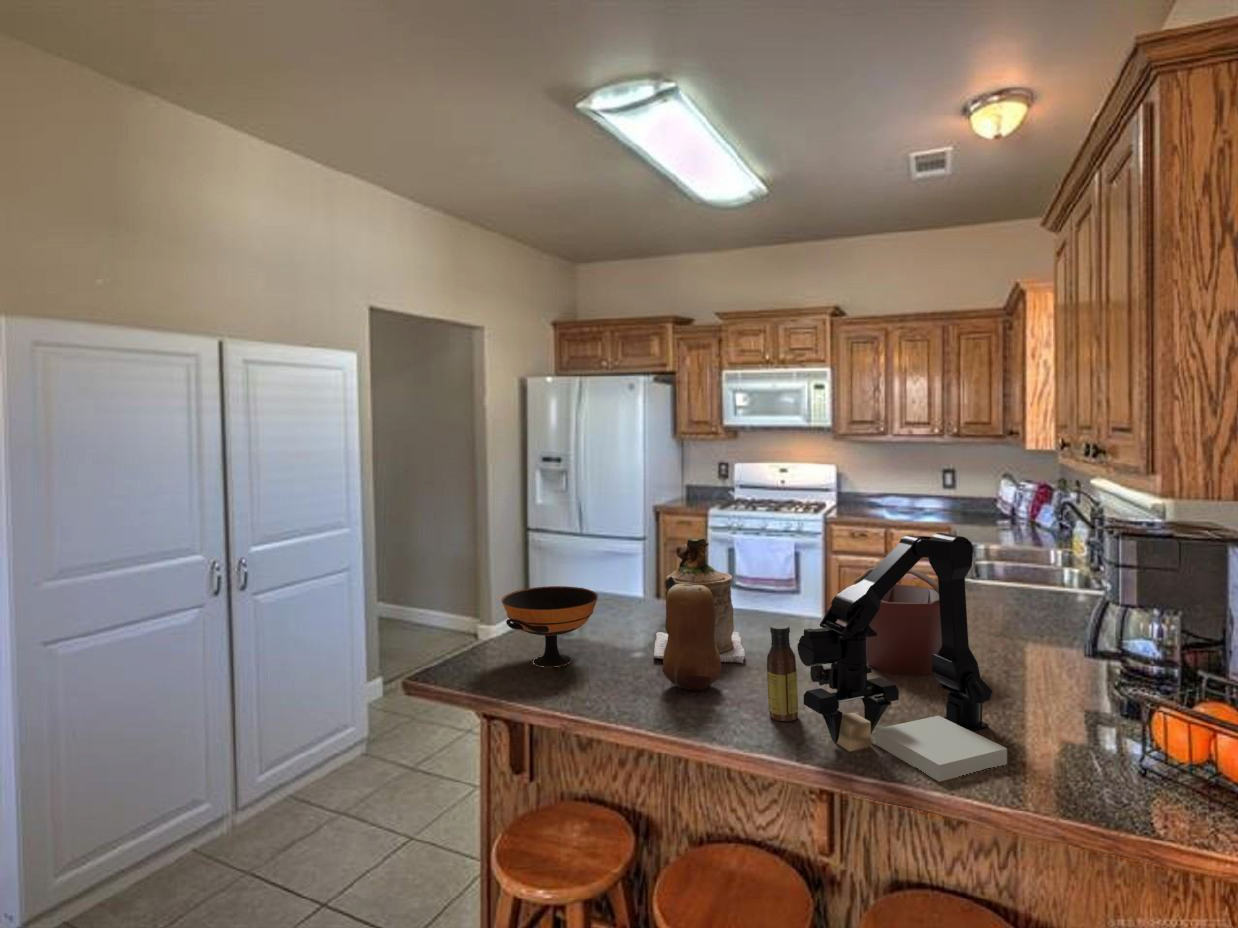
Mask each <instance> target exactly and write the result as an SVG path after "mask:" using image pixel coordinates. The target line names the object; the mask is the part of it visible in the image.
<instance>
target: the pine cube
mask: <svg viewBox="0 0 1238 928" xmlns="http://www.w3.org/2000/svg"><path fill="white" fill-rule="evenodd" d="M871 735H872V734H871V722H870V721H868V720H866V719H865V718H864V716H861V715H859V714H858V713H856V712H848V713H843V714H842V721H841V727H840V734H839V739H838V742H837V743H836V744H837V745H839V746H840V747H841V748H843V749H845V750H847V752H852V751H858V750H863V749H866V748H871V747H872V746H871V743H872V738H871Z"/></svg>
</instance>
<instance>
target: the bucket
mask: <svg viewBox="0 0 1238 928" xmlns="http://www.w3.org/2000/svg"><path fill="white" fill-rule="evenodd" d="M876 567H877V566H875V567H870V568H867V570H865V571H864V572H863V574H861V575H860V576H859V577H856V578H855V579H854V580H853V585H855V584H857V583H859V582H861V581H862V580H864V579H865V578H866V577H867V576H868V575H869V574H870V573H871V572H872V571H873V570H874V569H875V568H876ZM907 574H911V575H912V576H915V577H917V578H918V579H920V580H922V581H923V582H925V583H926V584H927V585H929V586H930V587H928V586H927V587H924V586H917V585H911V584H909V585H908V584H901V583H897V584H896V585H895V586H894V587H893V588H892V589H891V590H890V591H889V592H888V593H887V594H886V595H885V596H884V598H883V599H882V600H881V603H880V608H879V611H878V613H877V614H876V616H875V617H874V618H873V620H872V621H871V623H870V624H869V625H870V627H871V628H872V629H873V630H874V631H875V632H876V633H877V636H874V637H867V666H869V667H871V668H872V669H873V668H874V669H875V670H879V671H881V672H883V673H887V674H889V675H892V676H893V675H894V676H896V675H897V676H914V677H915V676H918V677H924V676H926V675H928V674H929V673H933V672H932V668H933V663H932V658H931V657H932V654H937V653H938V651H939V650H940V648H941V646H942V635H941V619H940V603H939V587H938V581H936V580H935V579H934V578H932V577H930V576H929V575H927V574H926V573H923V572H921V571H920V570H917V569H912V568H911V569H910V570H909V572H908V573H907Z"/></svg>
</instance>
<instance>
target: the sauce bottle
mask: <svg viewBox="0 0 1238 928" xmlns="http://www.w3.org/2000/svg"><path fill="white" fill-rule="evenodd" d="M769 626H770V627H769V629H770V630H769V632H770V634H771V644H770V645H771V647H770V648H769V651H768V654H767V657H766V659H767V660H766V677H767V678H766V679H767V682H766V683H767V701H768V710H769V716H770V717H771V718H772V720H775V721H778V722H787V723H788V722H792V721H795V720H797V719H798V717H799V694H798V693H799V692H798V688H799V687H798V675H797V674H798V673H797V672H798V670H797V666H796V665H797V664H796V663H797V660H796V654H795V652H794V651H793V649H792V648H791V643H790V632H791V629H790V628H791V627H790V625H789V624H787V623H774V624H771V625H769Z"/></svg>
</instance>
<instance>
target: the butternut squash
mask: <svg viewBox="0 0 1238 928" xmlns="http://www.w3.org/2000/svg"><path fill="white" fill-rule="evenodd" d="M664 621H665V626H664V627H665V631H666V632H665V633H667V634H668V641H667V644H666V647H665V650H664V656H663V659H662V661H663V662H662V664H663V666H662V673H663V675H664V676H665V677H666V678H667V680H669V681H670V683H671V684H672V685H674V686H676V687H678V688H681V689H686V690H687V689H688V690H690V691H694V692H696V691H704V689H705V690H706V688H707V687H709V686H711V685H712V684H713V683H715V681H717V679H718V678H719V677H720V675H721V673H722V662H721V658H720V654H719V652H718V649H717V646H716V644H715V641H714V630H715V608H714V600H713V595H712V593H711V591H710V590H709V589H708V588H707V587H705V586H703V585H690V584H683V583H682V584H676V585H674V586H672V587H671V588H670V589H669V590H668V593H667V596H666V595H665V620H664Z"/></svg>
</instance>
